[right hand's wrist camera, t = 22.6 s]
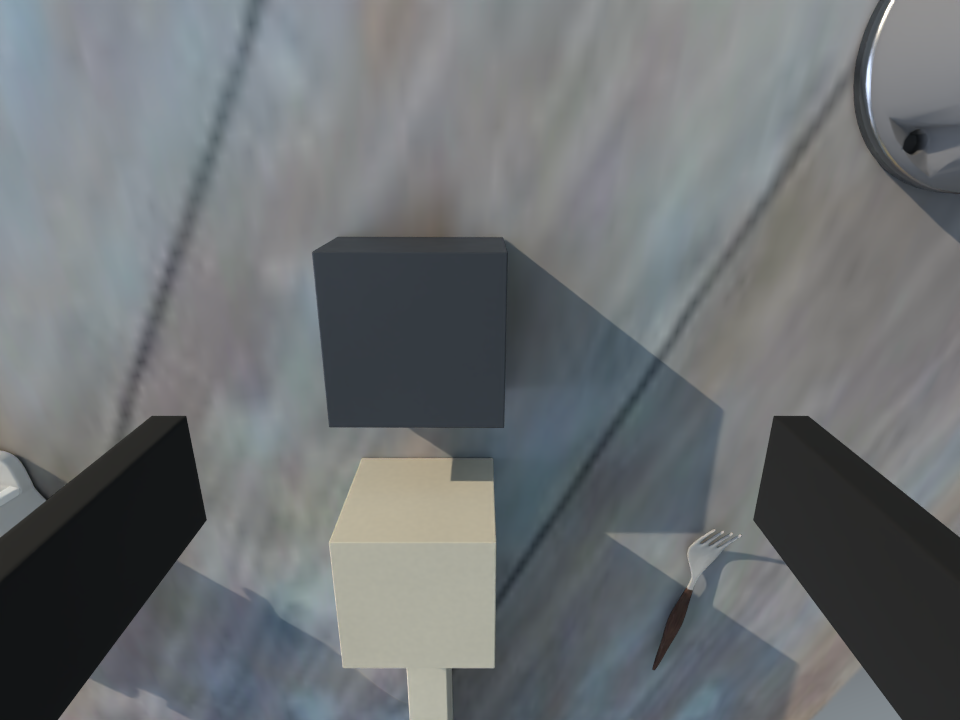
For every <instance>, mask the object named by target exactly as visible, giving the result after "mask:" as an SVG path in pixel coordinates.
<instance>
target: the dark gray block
mask: <svg viewBox="0 0 960 720" xmlns="http://www.w3.org/2000/svg"><path fill="white" fill-rule="evenodd" d="M312 257H313V267H314V277H315V287H316V297H317V307H318V318H319V328H320V338H321V348H322V358H323V368H324V379H325V389H326V399H327V409H328V419H329V427H428V428H504V401H505V350H506V300H507V250H506V246H505V242H504V239H503V238H495V237H337V238H335V239H333V240H332V241H330V242H328V243H327V244H325V245H323V246H321V247H320V248H318V249H316V250H315V251H313V252H312Z"/></svg>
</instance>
